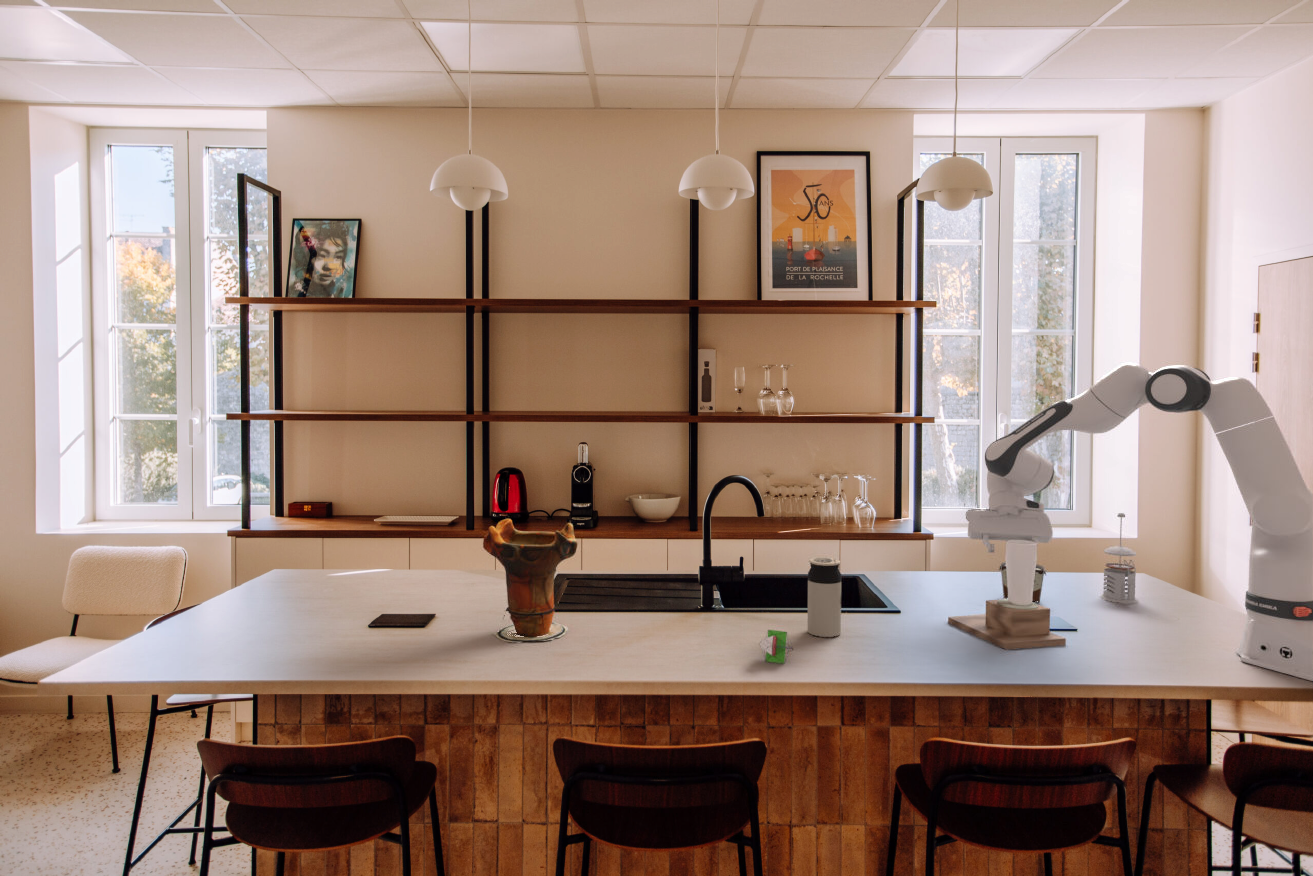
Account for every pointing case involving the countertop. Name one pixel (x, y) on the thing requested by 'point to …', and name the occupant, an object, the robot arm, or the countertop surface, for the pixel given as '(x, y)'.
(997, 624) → the walnut display stand
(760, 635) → the countertop surface
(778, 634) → the geometric puzzle
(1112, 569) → the french press
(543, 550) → the decorative vase
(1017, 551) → the drinking glass
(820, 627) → the travel mug
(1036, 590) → the food container
